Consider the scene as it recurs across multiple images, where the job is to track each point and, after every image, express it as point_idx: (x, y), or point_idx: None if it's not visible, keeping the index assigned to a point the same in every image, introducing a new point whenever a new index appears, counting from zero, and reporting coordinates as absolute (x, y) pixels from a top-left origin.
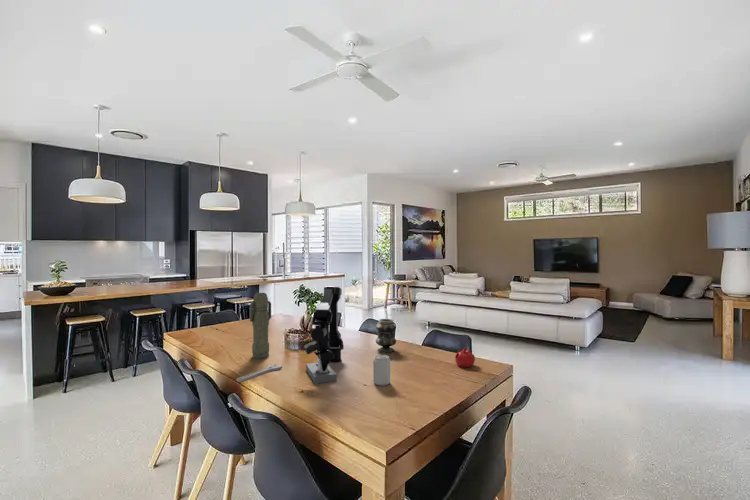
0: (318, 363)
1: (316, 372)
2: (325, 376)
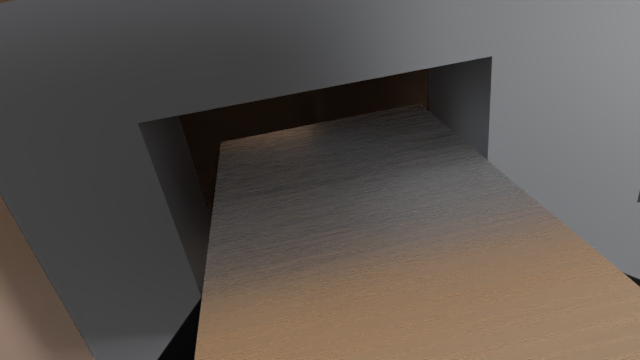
0: (398, 306)
1: (466, 81)
2: (61, 280)
